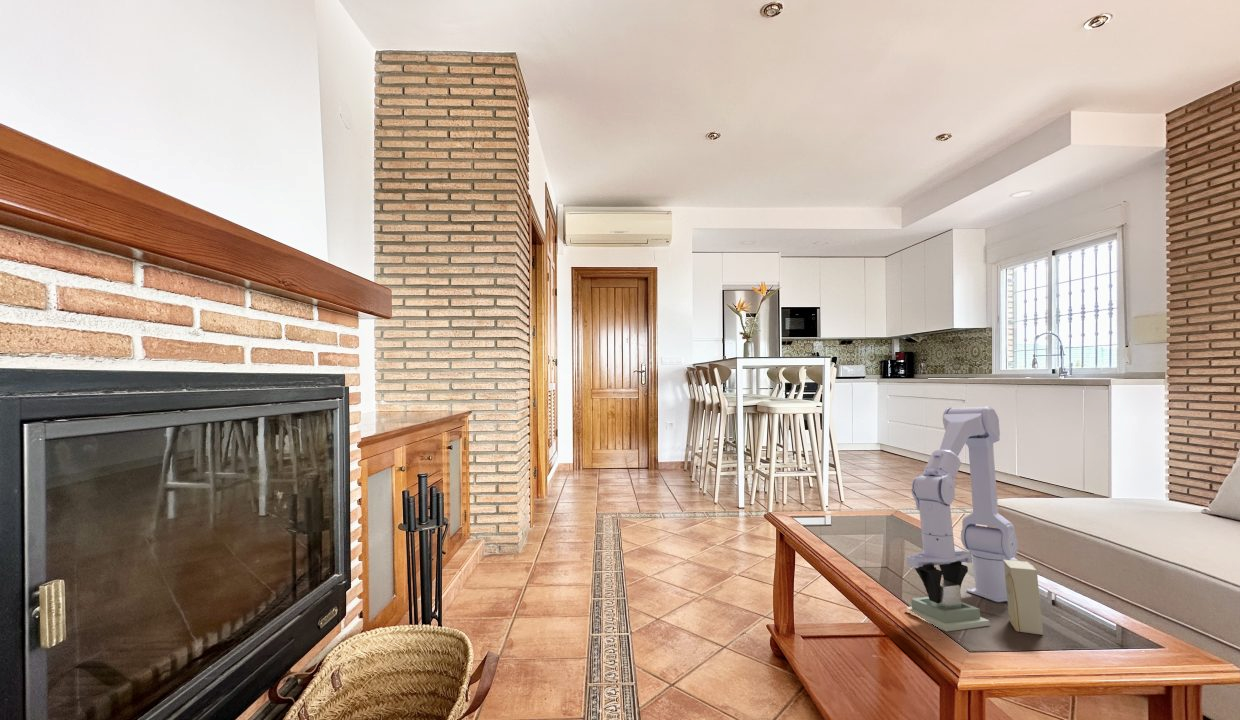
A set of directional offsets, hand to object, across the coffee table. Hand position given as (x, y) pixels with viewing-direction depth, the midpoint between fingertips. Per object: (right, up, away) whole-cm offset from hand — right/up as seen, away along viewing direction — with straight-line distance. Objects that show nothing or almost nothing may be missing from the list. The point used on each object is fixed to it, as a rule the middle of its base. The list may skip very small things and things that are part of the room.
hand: (943, 600), depth 104 cm
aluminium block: (0, -2, -1) cm, 2 cm away
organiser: (0, -4, 0) cm, 4 cm away
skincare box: (+13, -3, -6) cm, 14 cm away
